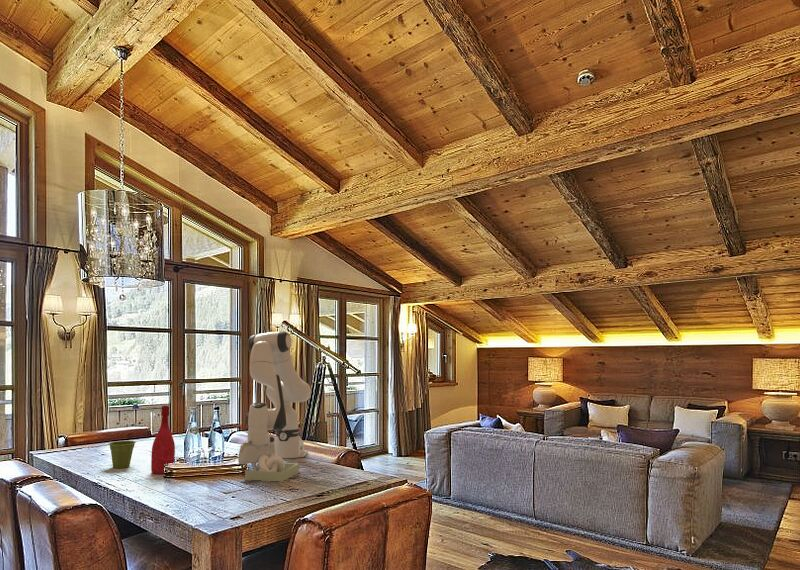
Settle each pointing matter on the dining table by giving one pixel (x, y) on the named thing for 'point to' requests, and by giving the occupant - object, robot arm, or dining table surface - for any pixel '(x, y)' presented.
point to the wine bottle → (162, 445)
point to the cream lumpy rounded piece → (271, 463)
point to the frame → (273, 473)
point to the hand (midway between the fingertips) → (256, 471)
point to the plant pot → (121, 453)
